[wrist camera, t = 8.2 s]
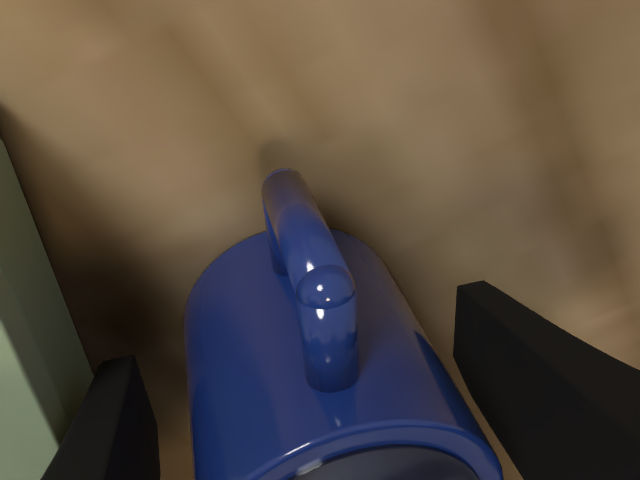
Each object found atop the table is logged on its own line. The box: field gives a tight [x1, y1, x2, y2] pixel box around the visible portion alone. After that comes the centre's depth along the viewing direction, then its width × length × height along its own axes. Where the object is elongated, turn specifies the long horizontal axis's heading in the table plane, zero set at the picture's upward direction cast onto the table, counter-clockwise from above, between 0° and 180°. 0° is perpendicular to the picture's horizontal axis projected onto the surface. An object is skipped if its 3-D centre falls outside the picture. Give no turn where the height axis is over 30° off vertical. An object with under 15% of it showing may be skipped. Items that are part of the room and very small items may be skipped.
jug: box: [183, 168, 504, 480], centre depth 11 cm, size 7×5×6 cm, turn 4°
